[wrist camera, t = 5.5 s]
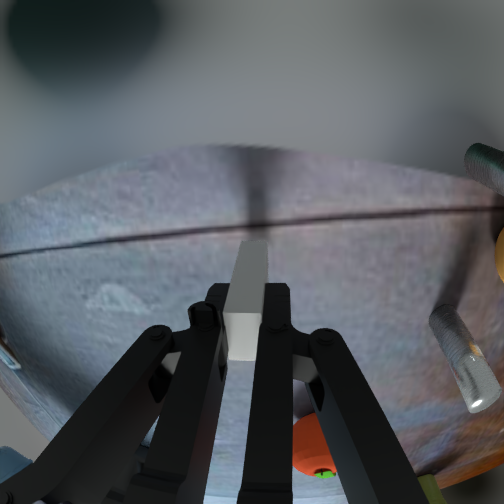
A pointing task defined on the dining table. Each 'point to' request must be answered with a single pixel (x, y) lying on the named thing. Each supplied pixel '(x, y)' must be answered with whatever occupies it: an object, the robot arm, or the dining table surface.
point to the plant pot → (431, 489)
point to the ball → (500, 254)
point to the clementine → (311, 449)
